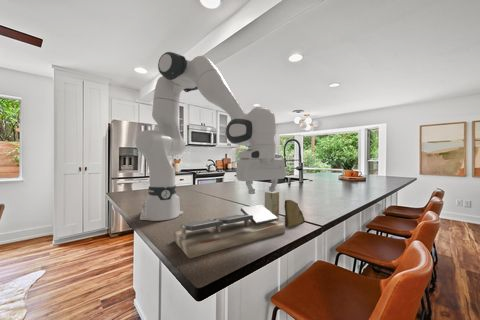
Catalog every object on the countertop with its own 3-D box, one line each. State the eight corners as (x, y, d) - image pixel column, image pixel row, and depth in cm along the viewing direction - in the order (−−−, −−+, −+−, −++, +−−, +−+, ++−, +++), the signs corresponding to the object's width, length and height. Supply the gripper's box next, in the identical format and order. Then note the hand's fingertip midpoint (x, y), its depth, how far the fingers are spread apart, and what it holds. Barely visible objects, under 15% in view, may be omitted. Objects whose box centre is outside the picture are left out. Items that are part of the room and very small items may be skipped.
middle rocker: (213, 222, 72) (213, 218, 72) (237, 218, 77) (237, 214, 77) (227, 224, 64) (227, 219, 64) (253, 219, 69) (252, 215, 69)
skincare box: (272, 221, 88) (272, 193, 87) (263, 219, 90) (264, 192, 90) (279, 218, 93) (279, 191, 93) (271, 216, 95) (271, 190, 95)
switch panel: (174, 241, 66) (174, 221, 66) (260, 222, 86) (260, 206, 86) (189, 258, 55) (189, 234, 55) (284, 232, 75) (284, 214, 75)
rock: (300, 213, 92) (279, 210, 91) (308, 200, 87) (285, 197, 86) (307, 234, 84) (283, 232, 83) (315, 222, 79) (290, 219, 78)
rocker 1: (181, 228, 65) (180, 224, 66) (209, 223, 71) (209, 219, 71) (192, 231, 57) (191, 226, 57) (223, 224, 63) (223, 220, 63)
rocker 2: (240, 210, 78) (241, 207, 78) (260, 207, 84) (261, 204, 83) (255, 225, 70) (256, 222, 70) (277, 220, 76) (277, 217, 76)
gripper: (277, 154, 81) (277, 189, 81) (234, 153, 69) (233, 193, 69) (289, 154, 76) (289, 191, 76) (244, 152, 64) (244, 196, 64)
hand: (262, 192), depth 73 cm, fingers open, 8 cm apart
